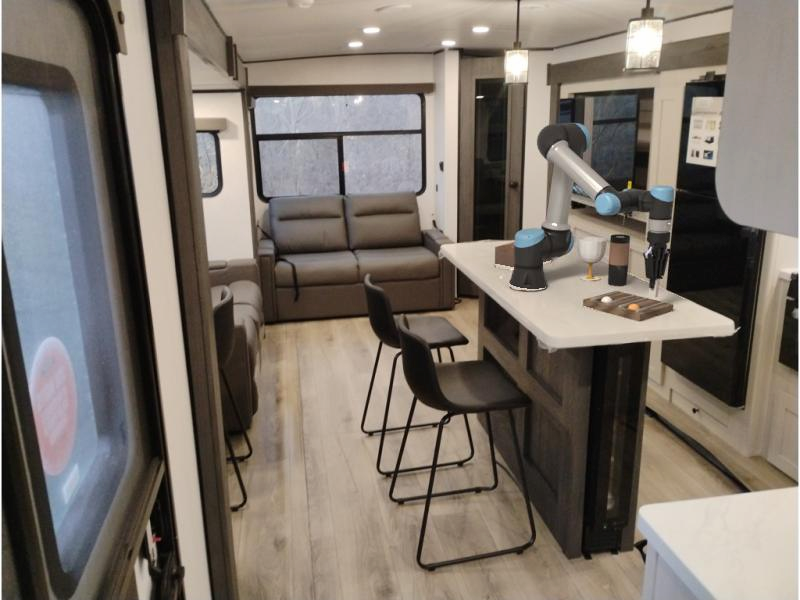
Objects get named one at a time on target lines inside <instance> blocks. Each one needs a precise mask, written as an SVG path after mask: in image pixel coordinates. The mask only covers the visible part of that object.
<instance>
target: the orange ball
mask: <svg viewBox="0 0 800 600" xmlns="http://www.w3.org/2000/svg"><path fill="white" fill-rule="evenodd" d="M628 309H631V310H635V311H636V310H638V309H640V307H639V306H638V305H637V304H631V305H629V307H628Z"/></svg>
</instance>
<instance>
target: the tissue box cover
mask: <svg viewBox="0 0 800 600" xmlns="http://www.w3.org/2000/svg"><path fill="white" fill-rule="evenodd" d="M550 260H552V261H553V258H549V259H544V260H543V262H546V261H550ZM495 264H500V265H505V266H510V267H514V241H513V242H509V243H505V244H501V245H497V246H495V247H494V265H495Z"/></svg>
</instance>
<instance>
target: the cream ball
mask: <svg viewBox="0 0 800 600" xmlns="http://www.w3.org/2000/svg"><path fill="white" fill-rule="evenodd" d="M611 301H612V299H611V298H610V297H608V296H605V297H603V298H602V299H601V302H604V303H607V302H611Z"/></svg>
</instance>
